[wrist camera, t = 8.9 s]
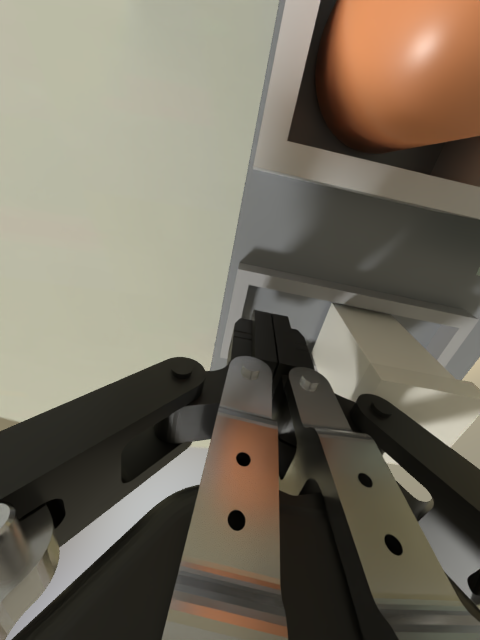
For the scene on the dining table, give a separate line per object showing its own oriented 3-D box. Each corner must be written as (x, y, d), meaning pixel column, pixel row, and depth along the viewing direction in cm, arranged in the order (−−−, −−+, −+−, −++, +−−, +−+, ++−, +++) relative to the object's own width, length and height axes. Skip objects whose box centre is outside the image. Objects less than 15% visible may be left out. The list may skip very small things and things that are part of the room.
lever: (329, 298, 13) (381, 379, 8) (396, 312, 13) (492, 401, 8) (306, 355, 14) (337, 454, 9) (367, 366, 14) (429, 470, 9)
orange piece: (350, -81, 7) (503, -484, 3) (519, -32, 8) (893, -325, 3) (296, 136, 10) (332, 102, 5) (425, 167, 10) (565, 160, 5)
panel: (307, -139, 9) (378, -553, 4) (690, -23, 9) (1159, -236, 5) (213, 356, 18) (199, 421, 13) (408, 392, 19) (462, 467, 14)
